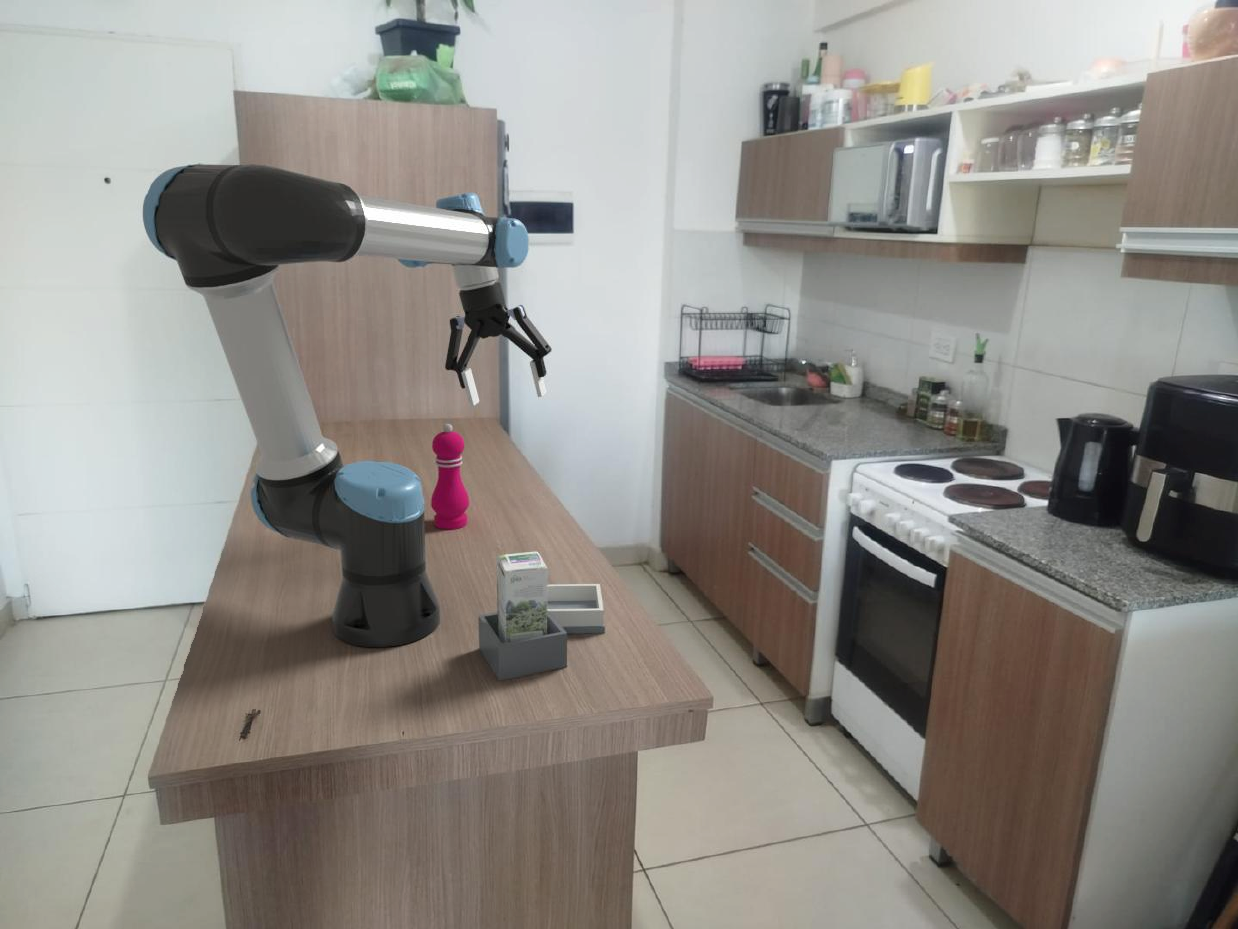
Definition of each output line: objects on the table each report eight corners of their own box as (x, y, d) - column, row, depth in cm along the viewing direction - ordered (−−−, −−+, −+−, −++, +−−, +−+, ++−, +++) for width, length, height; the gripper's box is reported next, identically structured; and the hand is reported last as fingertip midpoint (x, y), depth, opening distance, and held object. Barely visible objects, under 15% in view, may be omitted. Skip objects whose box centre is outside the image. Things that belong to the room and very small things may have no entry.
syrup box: (537, 644, 121) (537, 548, 117) (547, 665, 116) (547, 565, 112) (497, 650, 120) (495, 552, 116) (505, 671, 114) (504, 569, 110)
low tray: (604, 632, 125) (605, 610, 124) (538, 634, 124) (538, 611, 123) (600, 604, 134) (600, 583, 133) (538, 605, 134) (538, 584, 133)
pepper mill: (461, 532, 163) (458, 429, 158) (425, 528, 164) (421, 426, 159) (475, 519, 170) (472, 420, 164) (440, 516, 171) (437, 418, 166)
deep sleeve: (499, 680, 112) (498, 646, 110) (479, 648, 120) (478, 615, 119) (566, 666, 116) (567, 633, 114) (542, 636, 124) (542, 604, 122)
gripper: (551, 269, 151) (577, 384, 158) (425, 292, 159) (456, 401, 166) (537, 276, 145) (565, 396, 151) (407, 300, 152) (439, 413, 159)
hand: (508, 399), depth 159 cm, fingers open, 13 cm apart
